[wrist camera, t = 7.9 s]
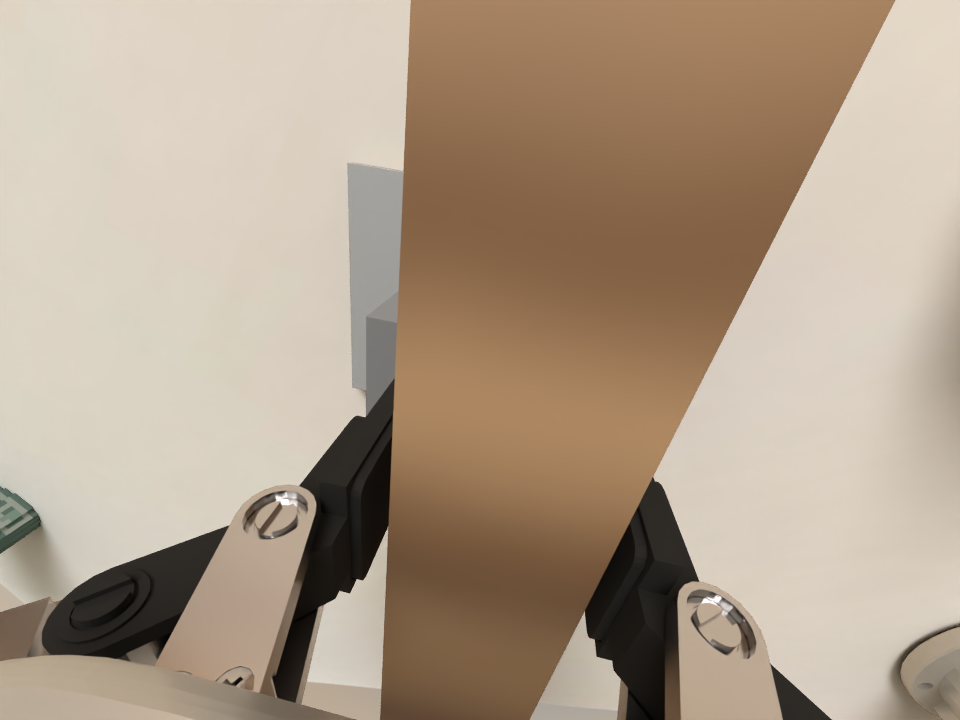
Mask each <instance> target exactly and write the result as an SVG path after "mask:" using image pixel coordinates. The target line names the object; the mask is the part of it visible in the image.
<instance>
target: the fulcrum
mask: <svg viewBox="0 0 960 720" xmlns="http://www.w3.org/2000/svg"><path fill="white" fill-rule="evenodd" d="M403 175H404V171H399V170H393V169H387V168H381V167H375V166H369V165H363V164H358V163H348V207H349V252H350V298H351V343H352V388H357V389H361V390H366V416H367V415H368V413H369V412H370V410H371V409H372V408H373V406H374V405H375V404H376V402H377V401H378V400H379V398H380V397H381V396H382V394H383V393H384V391H385V390H386V389H387V387H388V386H389V385H390V383H391V382H392V381H393V379H394V378H395V363H396V339H397V316H398V292H399V269H400V245H401V222H402V198H403Z"/></svg>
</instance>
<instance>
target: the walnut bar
mask: <svg viewBox="0 0 960 720" xmlns="http://www.w3.org/2000/svg"><path fill="white" fill-rule="evenodd" d="M894 2H895V0H411V10H410V34H409V57H408V81H407V104H406V128H405V151H404V175H403V198H402V222H401V245H400V269H399V292H398V316H397V339H396V363H395V386H394V410H393V433H392V457H391V480H390V503H389V527H388V550H387V574H386V597H385V621H384V644H383V668H382V693H381V715H380V720H529V719H530V717H531V715H532V713H533V712H534V710H535V707H536V706H537V704H538V702H539V700H540V698H541V696H542V694H543V692H544V690H545V688H546V686H547V684H548V682H549V680H550V678H551V676H552V674H553V672H554V670H555V668H556V666H557V664H558V662H559V660H560V658H561V656H562V655H563V653H564V651H565V649H566V647H567V645H568V643H569V641H570V639H571V637H572V635H573V633H574V631H575V629H576V627H577V625H578V623H579V621H580V619H581V617H582V615H583V613H584V611H585V609H586V607H587V605H588V603H589V601H590V599H591V598H592V596H593V594H594V592H595V590H596V588H597V586H598V584H599V582H600V580H601V578H602V576H603V574H604V572H605V570H606V568H607V566H608V564H609V562H610V560H611V558H612V556H613V554H614V552H615V550H616V548H617V546H618V544H619V542H620V540H621V539H622V537H623V535H624V533H625V531H626V529H627V527H628V525H629V523H630V521H631V519H632V517H633V515H634V513H635V511H636V509H637V507H638V505H639V503H640V501H641V499H642V497H643V495H644V493H645V491H646V489H647V487H648V485H649V483H650V482H651V480H652V478H653V476H654V474H655V472H656V470H657V468H658V466H659V464H660V462H661V460H662V458H663V456H664V454H665V452H666V450H667V448H668V446H669V444H670V442H671V440H672V438H673V436H674V434H675V432H676V430H677V428H678V426H679V425H680V423H681V421H682V419H683V417H684V415H685V413H686V411H687V409H688V407H689V405H690V403H691V401H692V399H693V397H694V395H695V393H696V391H697V389H698V387H699V385H700V383H701V381H702V379H703V377H704V375H705V373H706V371H707V369H708V367H709V366H710V364H711V362H712V360H713V358H714V356H715V354H716V352H717V350H718V348H719V346H720V344H721V342H722V340H723V338H724V336H725V334H726V332H727V330H728V328H729V326H730V324H731V322H732V320H733V318H734V316H735V314H736V312H737V310H738V309H739V307H740V305H741V303H742V301H743V299H744V297H745V295H746V293H747V291H748V289H749V287H750V285H751V283H752V281H753V279H754V277H755V275H756V273H757V271H758V269H759V267H760V265H761V263H762V261H763V259H764V257H765V255H766V253H767V252H768V250H769V248H770V246H771V244H772V242H773V240H774V238H775V236H776V234H777V232H778V230H779V228H780V226H781V224H782V222H783V220H784V218H785V216H786V214H787V212H788V210H789V208H790V206H791V204H792V202H793V200H794V198H795V196H796V194H797V193H798V191H799V189H800V187H801V185H802V183H803V181H804V179H805V177H806V175H807V173H808V171H809V169H810V167H811V165H812V163H813V161H814V159H815V157H816V155H817V153H818V151H819V149H820V147H821V145H822V143H823V141H824V139H825V137H826V136H827V134H828V132H829V130H830V128H831V126H832V124H833V122H834V120H835V118H836V116H837V114H838V112H839V110H840V108H841V106H842V104H843V102H844V100H845V98H846V96H847V94H848V92H849V90H850V88H851V86H852V84H853V82H854V80H855V78H856V77H857V75H858V73H859V71H860V69H861V67H862V65H863V63H864V61H865V59H866V57H867V55H868V53H869V51H870V49H871V47H872V45H873V43H874V41H875V39H876V37H877V35H878V33H879V31H880V29H881V27H882V25H883V23H884V21H885V20H886V18H887V16H888V14H889V12H890V10H891V8H892V6H893V4H894Z"/></svg>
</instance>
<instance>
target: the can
mask: <svg viewBox="0 0 960 720" xmlns="http://www.w3.org/2000/svg"><path fill="white" fill-rule="evenodd" d="M32 508H33V507H31V506H30V505H29V504H28V503H26V502H25V501H24V500H23V499H21V498H20V497H19V496H18V495H16V494H12V493H11V492H9V491H8V490H7V489H6V488H5V489H3V488H1V487H0V554H1V553H2V552H3V551H5V550H6V549H8V548H9V547H11V546H12V545H14V544H15V543H16V542H18V541H19V540H21V539H22V538H24V537H25V536H26V535H28V534H29V533H31V532H32V531H34V530H35V529H37V528H38V527H39V526H40V525H39V524H38V523H40V522H41V521H40V520H39V517H38V516H37V515H38V514H37V513H36V512H35V511H33V510H32Z"/></svg>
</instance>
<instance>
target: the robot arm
mask: <svg viewBox="0 0 960 720" xmlns="http://www.w3.org/2000/svg"><path fill="white" fill-rule="evenodd" d="M394 386H395V378H394V379H393V381H392V382H391V383H390V385H389V386H388V387H387V389H386V390H385V391H384V393H383V394H382V396H381V397H380V398H379V400H378V401H377V402H376V404H375V405H374V406H373V408H372V409H371V410H370V412H369V413H368V415H367V416H366V417H361V416H355V417H354V418H353V419H352V420H351V421H350V422H349V423H348V425H347V426H346V427H345V428H344V430H343V431H342V432H341V434H340V435H339V436H338V437H337V439H336V440H335V441H334V442H333V444H332V445H331V446H330V448H329V449H328V450H327V451H326V453H325V454H324V455H323V456H322V458H321V459H320V460H319V461H318V463H317V464H316V465H315V467H314V468H313V469H312V470H311V472H310V473H309V474H308V475H307V477H306V478H305V479H304V481H303V482H302V483H301V484H300V486H295V485H281V486H275V487H272V488H269V489H265V490H263V491H261V492H259V493H257V494H256V495H254V496H252V497H251V498H250V499H249V500H247V501H246V502H245V503H244V504H243V505H242V506H241V507H240V509H239V510H238V512H237V513H236V514H235V516H234V518H233V520H232V522H231V524H230V525H229V526H226V527H223V528H221V529H218V530H215V531H212V532H210V533H207V534H204V535H201V536H199V537H196V538H193V539H190V540H188V541H185V542H182V543H179V544H177V545H174V546H171V547H168V548H166V549H163V550H160V551H157V552H155V553H152V554H149V555H146V556H144V557H141V558H138V559H135V560H133V561H130V562H127V563H124V564H122V565H119V566H116V567H113V568H111V569H109V570H106V571H104V572H102V573H100V574H98V575H95V576H93V577H92V578H90V579H89V580H87V581H86V582H84V583H82V584H81V585H79V586H78V587H76V588H75V589H74V590H73V591H72V592H70V593H69V594H68V595H67V596H66V597H65V598H64V599H63V600H60V601H57V602H54V601H53V600H52V598H51V597H48V598H45V599H42V600H38V601H35V602H32V603H29V604H25V605H22V606H19V607H16V608H12V609H9V610H6V611H3V612H0V720H355V719H351V718H348V717H344V716H341V715H337V714H333V713H330V712H326V711H323V710H319V709H315V708H311V707H308V706H304V705H301V702H302V698H303V694H304V690H305V685H306V681H307V677H308V673H309V668H310V664H311V660H312V655H313V651H314V646H315V642H316V638H317V633H318V629H319V625H320V620H321V616H322V612H323V607H324V604H326V603H328V602H330V601H332V600H334V599H335V598H336V597H337V594H338V592H339V591H343V592H347V593H350V592H351V590H352V588H353V586H354V584H355V581H356V579H359V580H364V578H365V577H366V575H367V573H368V571H369V568H370V566H371V564H372V561H373V559H374V557H375V555H376V552H377V550H378V548H379V546H380V543H381V541H382V539H383V537H384V534H385V532H386V530H387V528H388V525H389V503H390V480H391V457H392V433H393V410H394ZM585 617H586V628H587V634H588V636H589V638H592V639H595V645H596V654H597V657H600V658H604V659H608V660H612V661H613V668H614V671H615V672H616V674H617V675H618V676H619V677H620V679H621V683H620V694H619V705H618V716H617V720H831V719H830V718H829V717H828V716H827V715H826V714H825V713H824V712H823V711H822V710H820V709H819V708H818V707H817V706H816V705H815V704H814V703H813V702H812V701H811V700H809V699H808V698H807V697H806V696H805V695H804V694H803V693H802V692H801V691H800V690H798V689H797V688H796V687H795V686H794V685H793V684H792V683H791V682H790V681H789V680H787V679H786V678H785V677H784V676H783V675H782V674H781V673H780V672H779V671H778V670H777V669H775V668H774V667H773V666H772V665H771V664H770V660H769V656H768V651H767V647H766V643H765V640H764V638H763V635H762V632H761V630H760V628H759V627H758V625H757V624H756V622H755V620H754V619H753V617H752V616H751V615H750V614H749V613H748V612H747V610H746V609H745V608H744V607H743V606H742V605H741V604H740V603H739V602H738V601H737V600H735V599H734V598H733V597H732V596H730V595H729V594H728V593H726V592H724V591H723V590H721V589H719V588H718V587H716V586H713V585H710V584H707V583H704V582H699V580H698V577H697V574H696V572H695V569H694V566H693V564H692V561H691V559H690V556H689V553H688V551H687V548H686V546H685V543H684V540H683V538H682V535H681V533H680V530H679V527H678V525H677V522H676V520H675V517H674V514H673V512H672V509H671V507H670V504H669V501H668V499H667V496H666V494H665V491H664V489H663V487H662V485H661V484H660V483H659V482H655V481H654V478H652V480H651V482H650V483H649V485H648V487H647V489H646V491H645V493H644V495H643V497H642V499H641V501H640V503H639V505H638V507H637V509H636V511H635V513H634V515H633V517H632V519H631V521H630V523H629V525H628V527H627V529H626V531H625V533H624V535H623V537H622V539H621V540H620V542H619V544H618V546H617V548H616V550H615V552H614V554H613V556H612V558H611V560H610V562H609V564H608V566H607V568H606V570H605V572H604V574H603V576H602V578H601V580H600V582H599V584H598V586H597V588H596V590H595V592H594V594H593V596H592V598H591V599H590V601H589V603H588V605H587V607H586V609H585ZM900 675H901V680H902V683H903V684H904V685H905V687H906V688H907V690H908V691H909V693H910V694H911V696H912V697H913V699H914V700H915V701H916V702H917V703H918V704H919V705H920V706H921V707H922V708H924V709H925V710H927V711H929V712H930V713H932V714H934V715H936V716H938V717H941V719H942V720H960V627H957V628H953V629H950V630H948V631H945V632H943V633H941V634H938V635H936V636H934V637H932V638H930V639H928V640H927V641H925V642H923V643H922V644H920V645H918V646H917V647H916V648H915V649H914V650H913V651H912V652H910V653H909V654H908V656H907V657H906V659H905V660H904V662H903V663H902V667H901V672H900Z"/></svg>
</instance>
